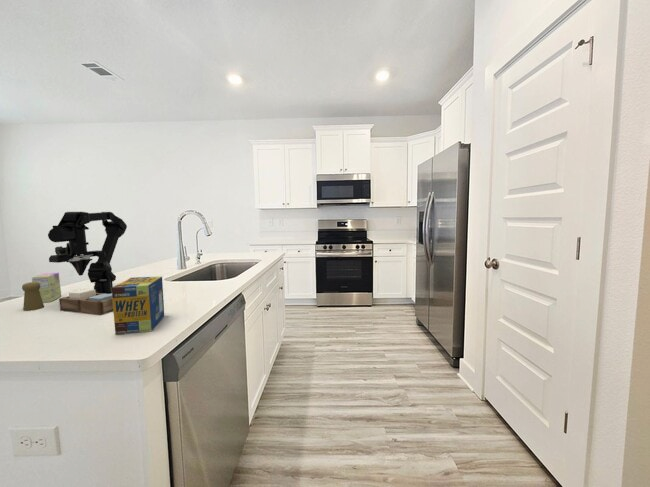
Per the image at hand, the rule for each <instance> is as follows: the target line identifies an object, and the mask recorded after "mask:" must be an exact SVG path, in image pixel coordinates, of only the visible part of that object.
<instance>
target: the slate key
mask: <svg viewBox="0 0 650 487" xmlns="http://www.w3.org/2000/svg"><path fill="white" fill-rule="evenodd" d="M111 298H112V293H111V294H101V295H97V296H93V297H89V300H91V301H104V300H107V299H111Z"/></svg>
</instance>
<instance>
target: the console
mask: <svg viewBox="0 0 650 487" xmlns="http://www.w3.org/2000/svg"><path fill="white" fill-rule="evenodd" d="M101 294H104V293H96V296H97V295H101ZM92 297H93V296H92ZM58 299H59V301H58V302H59V311H60V312H61V311H63V312H69V313H78V314H79V313H80V314H86V315H95V316H102V315H106V314H109V313H111V312H113V300H112V298H111V299H107V300H104V301H91V300H89V297H88V298H84V299H71V298H69V295H68V296H64V297H59V298H58Z"/></svg>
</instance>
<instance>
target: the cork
mask: <svg viewBox="0 0 650 487" xmlns="http://www.w3.org/2000/svg"><path fill="white" fill-rule="evenodd" d="M21 289H22V291H24V293H23V294H24V296H23V308H22V311H23V312H31V310H32V311H36V310H41V309H43V308H45V305H44V303H43V301H42V298H41V295H40V292H39V289H40V284H39V283H38V282H32V281H31V282H26V283H24V284H22V287H21Z"/></svg>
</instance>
